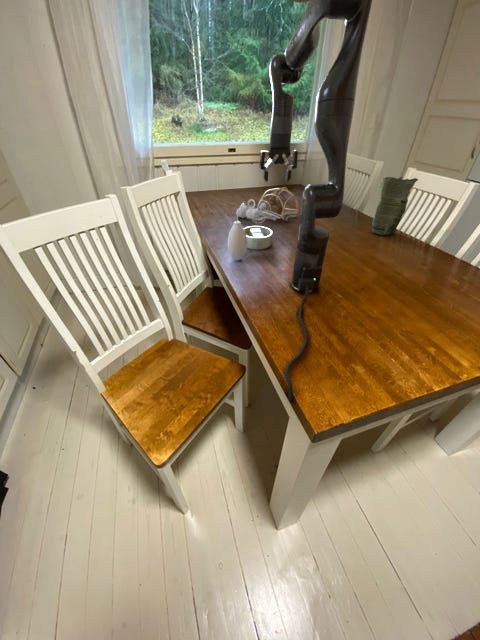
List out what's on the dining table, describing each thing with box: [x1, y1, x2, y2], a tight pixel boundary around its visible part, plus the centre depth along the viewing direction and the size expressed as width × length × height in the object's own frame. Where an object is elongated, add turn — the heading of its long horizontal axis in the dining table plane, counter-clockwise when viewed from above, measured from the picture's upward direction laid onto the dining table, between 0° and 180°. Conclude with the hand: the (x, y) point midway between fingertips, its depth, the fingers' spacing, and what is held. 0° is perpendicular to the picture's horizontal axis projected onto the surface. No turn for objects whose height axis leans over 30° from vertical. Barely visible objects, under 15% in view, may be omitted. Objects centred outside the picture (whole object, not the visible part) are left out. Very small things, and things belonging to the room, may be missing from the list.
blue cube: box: [252, 233, 264, 238], centre depth 121 cm, size 5×5×5 cm
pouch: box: [370, 176, 419, 236], centre depth 128 cm, size 11×12×25 cm
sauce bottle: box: [227, 215, 248, 261], centre depth 106 cm, size 8×8×18 cm
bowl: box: [243, 225, 273, 251], centre depth 123 cm, size 14×14×6 cm
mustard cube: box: [250, 228, 262, 237], centre depth 125 cm, size 5×5×5 cm
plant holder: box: [235, 186, 301, 224], centre depth 147 cm, size 28×35×16 cm
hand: (276, 181), depth 108 cm, fingers open, 8 cm apart
